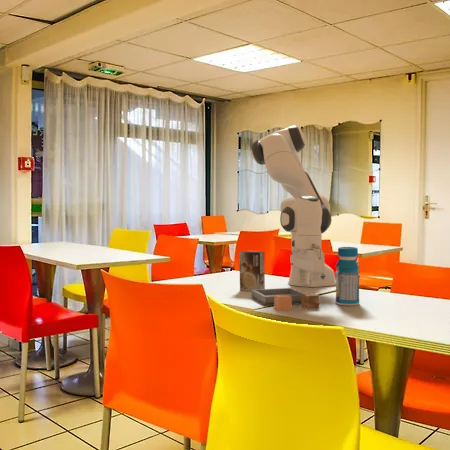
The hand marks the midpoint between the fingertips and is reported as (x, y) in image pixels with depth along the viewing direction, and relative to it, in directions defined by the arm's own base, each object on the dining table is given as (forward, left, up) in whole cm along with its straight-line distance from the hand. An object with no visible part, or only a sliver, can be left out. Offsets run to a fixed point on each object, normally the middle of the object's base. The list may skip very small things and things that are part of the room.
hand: (307, 283), depth 185 cm
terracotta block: (+9, 0, -8) cm, 12 cm away
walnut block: (-1, 0, -8) cm, 8 cm away
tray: (+5, -15, -8) cm, 18 cm away
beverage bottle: (-16, -2, -8) cm, 18 cm away
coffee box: (+8, -38, -8) cm, 40 cm away
